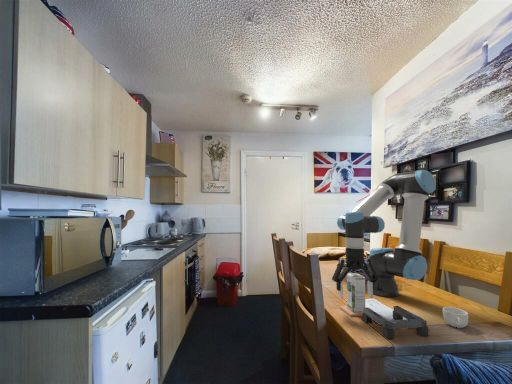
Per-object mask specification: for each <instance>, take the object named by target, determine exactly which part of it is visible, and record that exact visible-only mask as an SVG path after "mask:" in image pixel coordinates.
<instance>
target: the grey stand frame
mask: <svg viewBox="0 0 512 384" xmlns="http://www.w3.org/2000/svg"><path fill="white" fill-rule="evenodd" d="M392 308H393V310H392V320H390V319H389V320H388V319H387V318H385V317H384V316H382V315H381V314H379V313H378V312H376V311H374V310H373V309H371V308H370V307H365V308H363V312H364V313H363V316H362V322H364V323H365V324H373V321H374V322H376V323H377V324H379V325H380V326H382V327H381V330H382V331H381V333H382V337H384V338H385V339H387V340H394V339H395V330H399V329H414V328H415V333H416V334H417V335H419V336H420V337H421V338H422V337H423V338H424V337H429V327H428V324H427V323H428V322H427V320H426V319H424V318H422V317H420V316H418V315H416V314H415V313H412V312H411V311H408V310H407V309H405V308H403V307H401V306H399V305H393V307H392ZM404 318H405V319H404Z"/></svg>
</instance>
